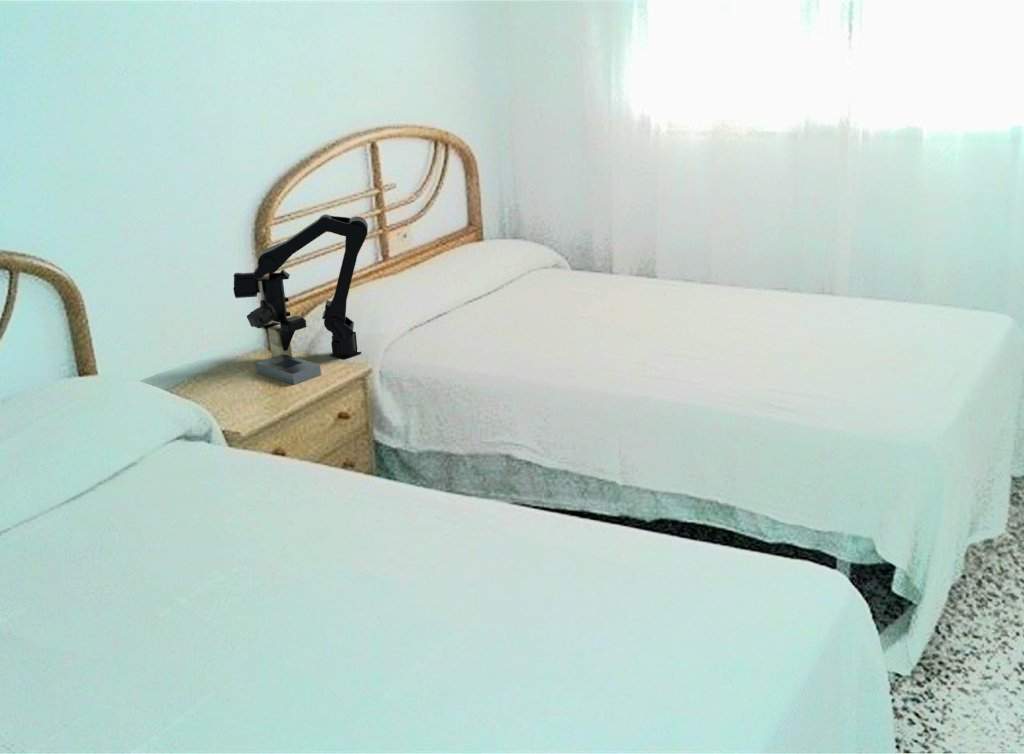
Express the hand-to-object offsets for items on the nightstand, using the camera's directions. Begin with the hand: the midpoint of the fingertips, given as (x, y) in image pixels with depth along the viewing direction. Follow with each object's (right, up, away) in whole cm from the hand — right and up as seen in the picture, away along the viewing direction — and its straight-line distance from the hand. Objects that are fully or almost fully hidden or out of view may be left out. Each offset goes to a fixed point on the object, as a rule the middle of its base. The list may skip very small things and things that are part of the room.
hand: (280, 349), depth 290 cm
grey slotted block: (+5, -7, -11) cm, 14 cm away
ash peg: (0, -2, +1) cm, 3 cm away
